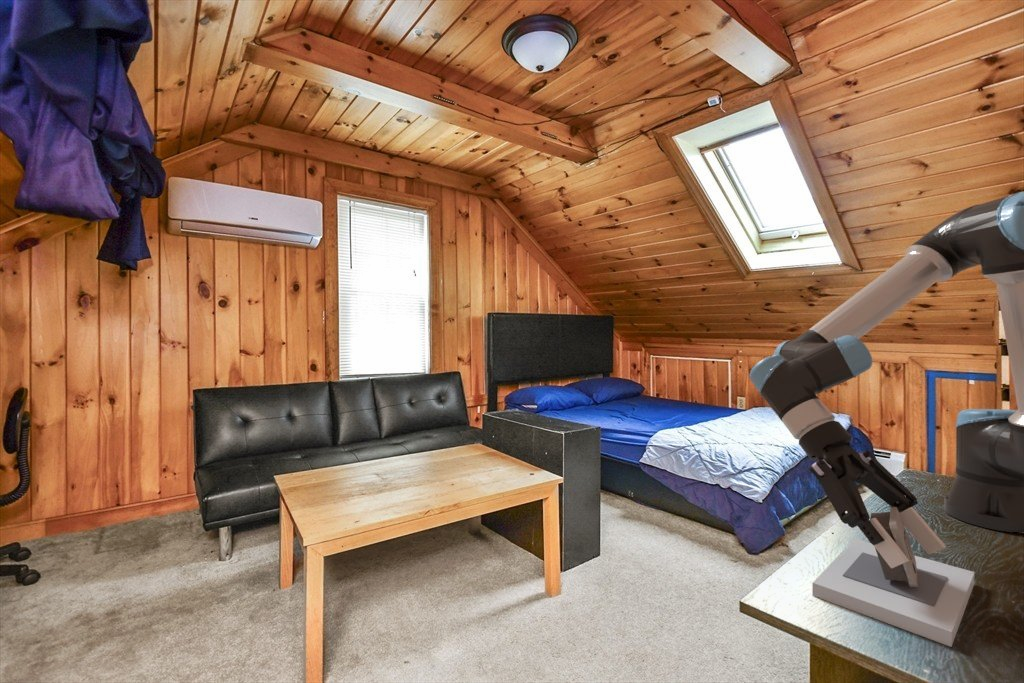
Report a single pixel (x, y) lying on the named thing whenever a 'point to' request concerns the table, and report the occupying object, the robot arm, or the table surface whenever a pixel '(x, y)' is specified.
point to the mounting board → (898, 592)
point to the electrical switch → (902, 539)
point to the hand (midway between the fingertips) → (919, 557)
